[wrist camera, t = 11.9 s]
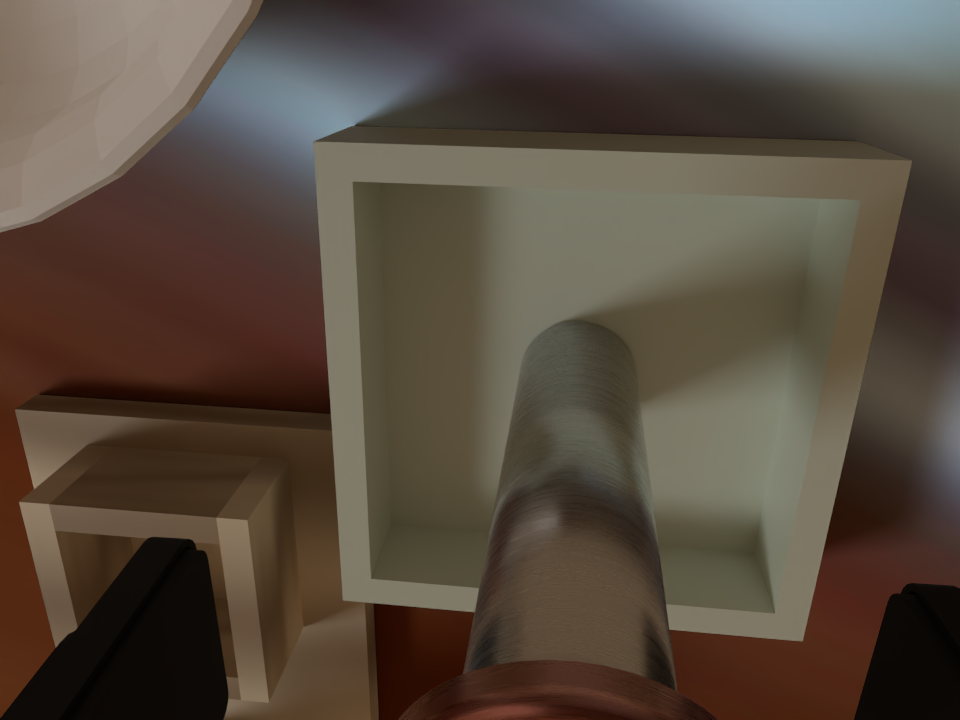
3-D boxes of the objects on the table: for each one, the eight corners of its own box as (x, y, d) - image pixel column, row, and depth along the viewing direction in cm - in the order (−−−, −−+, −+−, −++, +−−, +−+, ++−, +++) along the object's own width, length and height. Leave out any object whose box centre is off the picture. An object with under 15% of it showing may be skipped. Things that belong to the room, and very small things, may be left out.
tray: (351, 126, 19) (313, 141, 16) (858, 141, 18) (912, 160, 15) (370, 532, 24) (342, 600, 21) (773, 565, 23) (802, 641, 20)
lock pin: (491, 286, 19) (339, 730, 8) (677, 296, 19) (827, 788, 7) (488, 443, 21) (364, 992, 10) (657, 456, 21) (748, 1053, 9)
